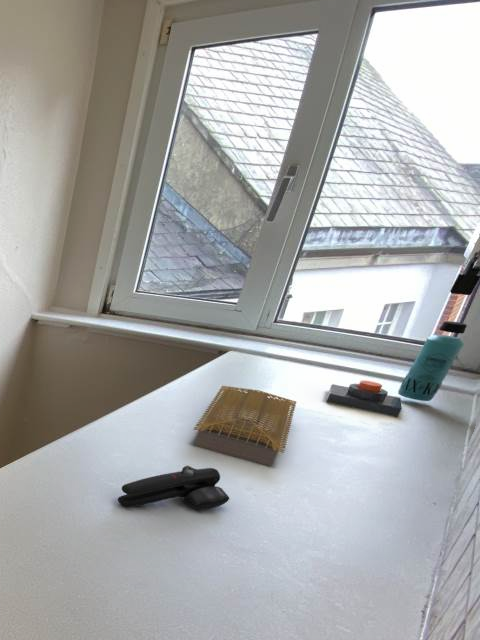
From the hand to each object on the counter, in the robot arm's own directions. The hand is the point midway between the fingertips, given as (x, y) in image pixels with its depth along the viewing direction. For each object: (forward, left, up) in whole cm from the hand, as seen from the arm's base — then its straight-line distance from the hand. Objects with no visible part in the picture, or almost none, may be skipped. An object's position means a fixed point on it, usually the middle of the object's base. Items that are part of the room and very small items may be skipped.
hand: (459, 293), depth 120 cm
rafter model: (+26, +46, -27) cm, 59 cm away
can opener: (+30, +91, -27) cm, 100 cm away
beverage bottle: (-2, -8, -27) cm, 28 cm away
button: (+7, +4, -23) cm, 25 cm away
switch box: (+7, +5, -27) cm, 28 cm away
